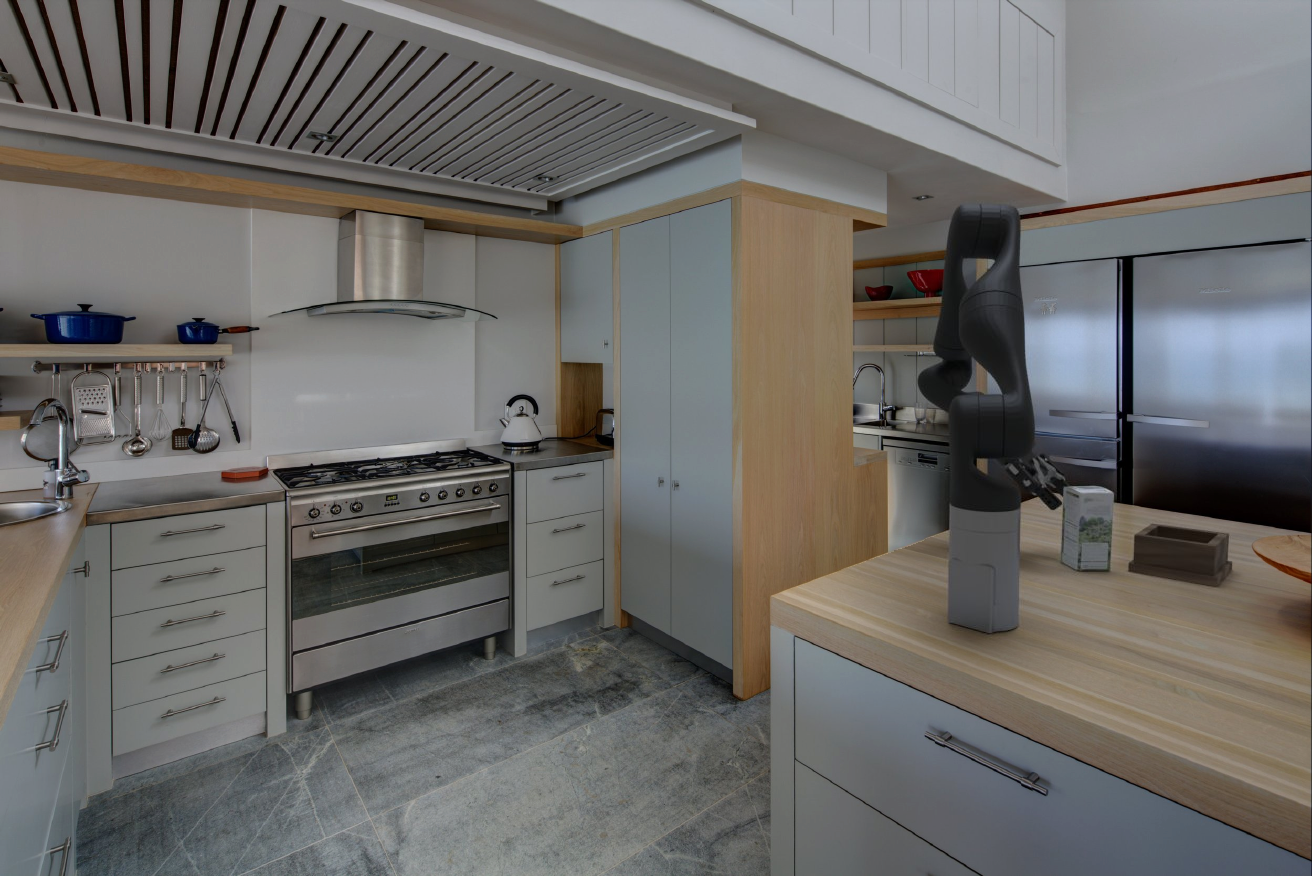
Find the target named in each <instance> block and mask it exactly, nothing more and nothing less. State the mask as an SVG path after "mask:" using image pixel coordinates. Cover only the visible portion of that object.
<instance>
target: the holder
mask: <svg viewBox="0 0 1312 876" xmlns="http://www.w3.org/2000/svg"><path fill="white" fill-rule="evenodd" d="M1133 538H1134V539H1133V558H1132V560H1130V561H1129V562H1128V569H1127V572H1132V573H1136V574H1137V573H1138V574H1143V575H1149V576H1152V577H1153V576H1155V577H1159V578H1160V577H1161V578H1165V579H1171V580H1177V581H1182V582H1189V583H1194V584H1199V585H1205V586H1210V587H1216V588H1217V587H1218V586H1219V585H1220V584H1221V583H1222V582H1223V581H1224V580H1225V578H1227V576H1228V575H1229V574H1230V573H1231V572H1232V571H1231V570H1233V561H1231V560H1229V546H1230V545H1229V542H1230V533H1227V532H1220V531H1219V532H1218V531H1213V530H1205V529H1196V528H1187V527H1180V526H1172V525H1166V524H1158V523H1157V524H1156V523H1150V524H1149V525H1147V526H1146V527H1144V528H1143V529H1141V530H1140V531H1138V532H1137V533H1135V534H1134V536H1133ZM1230 571H1231V572H1230Z"/></svg>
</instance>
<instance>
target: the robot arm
mask: <svg viewBox="0 0 1312 876" xmlns="http://www.w3.org/2000/svg"><path fill="white" fill-rule="evenodd" d="M1021 223H1022V222H1021V215H1020V212H1019V210H1018V209H1017V207H1015V206H1013V205H1010V204H1003V203H1002V204H999V203H962V204H959V206H957V207H956V209H955V210H954V212H953V214H952V218H951V219H950V224H949V228H948V233H947V240H946V247H945V255H944V258H945V259H944V266H943V275H942V276H943V278H942V289H941V290H942V292H941V302H940V303H941V305H940V311H939V317H938V321H937V326H936V330H935V334H934V340H933V345H932V348H933V352H934V354H935V356H937V357H938V358H940V359H942V361H940V362H938V363H935V364H933V365H931V366H929V367H927V368H924V369H923V370H922V371H921V372H920V373H919V374H918V376H917V381H916V382H917V387H918V390H919V392H920V394H922V396H923V397H924V398H925V399H926V401H928V402H929V403H931V404H933V405H934V406H936V407H938V408H939V409H940V410H942V411H944V412H945V413H946V414H948V419H947V422H948V424H947V426H948V446H949V466H950V474H949V475H950V476H949V477H950V478H949V479H950V480H949V481H950V482H949V484H950V485H949V527H948V528H949V529H948V531H949V533H948V535H949V537H948V543H949V544H948V546H949V547H948V564H947V565H948V571H947V572H948V577H947V578H948V579H947V580H948V581H947V583H948V584H947V586H948V589H947V592H948V593H947V598H948V599H947V621H948V622H947V623H951V624H955V625H959V626H962V627H965V628H969V629H972V630H977V631H980V632H985V633H987V634H993V633H994V632H995V633H996V632H1006V631H1010V630H1014V629H1016V628H1017V627H1018V626H1019V624H1020V623H1019V617H1020V615H1019V613H1020V563H1021V562H1020V561H1021V555H1020V554H1021V522H1022V521H1021V517H1022V513H1021V512H1022V507H1021V506H1022V493H1021V490H1020V488H1021V489H1022V490H1023V491H1024V492H1025V493H1026V494H1027V495H1030V494H1032V495H1034V496H1037V498H1039V499H1040V501H1041V502H1042V503H1043V504H1045V506H1046V507H1047V508H1048V509H1050V510H1051V511H1056V510H1057V509H1059V508H1060V507H1061V506H1063V500H1061V499H1060V498H1059V497H1058V496H1057V495H1056V493H1054V492H1053V491H1052V490H1051V489H1050V488H1049V487H1047V485H1049V486H1051V487H1053V488H1054V490H1055V491H1056V492H1057V493H1058V494H1059V495H1060V496H1061V497H1062V498H1063V490H1064V487H1072V486H1071V485H1070V484H1069V483H1068V482H1067V481H1066V478H1065V477H1067V474H1066V472H1064V471H1063V470H1062V468H1060V467H1059V466H1058V465H1057V464H1056V463H1054V461H1053V460H1052V459H1051V458H1049V456H1047V455H1046V454H1045V453H1043V452H1041V453H1040V454H1039V455H1037V454H1035V453H1034V452H1033V449H1034V448H1035V447H1036V441H1035V439H1036V422H1035V414H1034V406H1033V405H1034V404H1033V401H1032V396H1031V395H1032V393H1031V387H1030V381H1029V375H1028V371H1027V370H1028V368H1027V359H1026V332H1025V331H1026V329H1025V328H1026V327H1025V326H1026V324H1025V323H1026V322H1025V321H1026V320H1025V310H1024V300H1023V294H1022V293H1023V291H1022V283H1021V272H1020V270H1021V269H1020V265H1021V264H1020V262H1021V260H1020V259H1021V235H1022V233H1021V232H1022V230H1021V228H1022V227H1021V225H1022V224H1021ZM964 259H972V260H973V259H976V260H977V259H978V260H993V261H994V262H993V263H992V264H991V266H990V267H989V268H988V270H987V271H985V272H984V273H983V274H982V275H981V276H980V277H979V278H978V279H977V280H976V281H975V282H973V283H972V285H971V286H969V288H968V287H967V283H966V280H965V277H964V273H963V272H964V271H963V265H964V263H963V262H964ZM973 360H975V361H976V362H977V364H979V365H980V366H981V367H982V368H983V370H986V372H987V373H988V374H989V375H990V376H991V377H992V378H993V379H994V381H995V382H996V384H997V385H998V387H999V389H1000V392H1001V393H993V394H989V393H988V394H987V393H986V394H985V393H983V392H982V391H970V392H966V391H964V390H963V389H965V388H966V387H967V386H968V385H969V383H970V381H971V379H972V376H973ZM975 459H976V460H979V459H981V460H983V459H984V460H994V461H995V462H996V463H997V464H998V465H999V466H1000V467H1001V468H1003V469H1005V472H1006V473H1007V474H1008V475H1009V476H1010V477H1011V478H1012V479H1013V480H1014V481H1015V483H1017V485H1018V486H1017V485H1015V484H1013V483H1011V482H1008V481H1005V480H1001V479H999V478H996V477H993V476H991V475H989V474H987V473H985V472H983V471H982V470H981V469H980V468H978V467H977V466H976V465H975V463H974V460H975ZM1046 484H1047V485H1046ZM1019 487H1020V488H1019Z"/></svg>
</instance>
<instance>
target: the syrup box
mask: <svg viewBox="0 0 1312 876" xmlns="http://www.w3.org/2000/svg"><path fill="white" fill-rule="evenodd" d="M1114 502H1115V492H1113V491H1112V490H1109V489H1108V488H1105V487H1104V486H1103V487H1102V486H1098V485H1089V486H1088V485H1087V486H1086V485H1085V486H1084V485H1083V486H1082V485H1081V486H1071V487H1064V490H1063V497H1062V520H1061V521H1062V523H1061V545H1060V550H1061V551H1060V562H1061V563H1063V564H1065V565H1066V566H1067V567H1069V568H1071V569H1073V570H1075V571H1077V572H1079V571H1081V572H1084V571H1086V572H1087V571H1088V572H1091V571H1092V572H1093V571H1097V572H1098V571H1104V572H1105V571H1111V562H1112V561H1111V559H1112V542H1113V541H1112V539H1113V521H1114V520H1113V519H1114Z"/></svg>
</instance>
